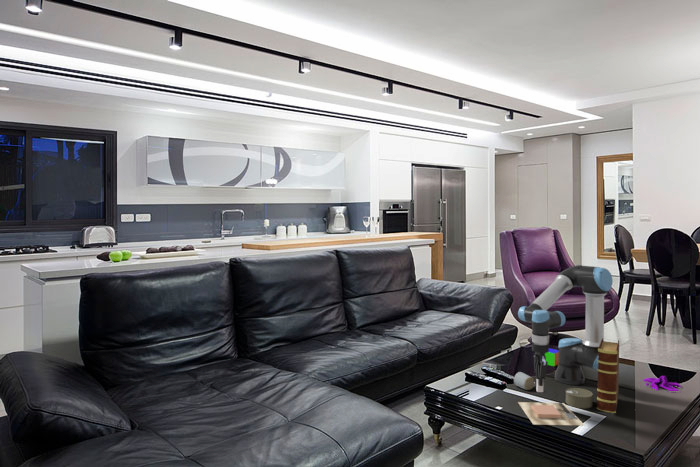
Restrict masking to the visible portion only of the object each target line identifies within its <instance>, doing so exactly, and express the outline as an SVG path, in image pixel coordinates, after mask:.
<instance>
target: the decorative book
mask: <svg viewBox="0 0 700 467" xmlns="http://www.w3.org/2000/svg"><path fill="white" fill-rule="evenodd" d="M596 371H597V388H596V392H597V394H596V396H597V397H596V402H597V403H596V405H597V406H596V409H597V410H599V411H603V412H604V413H605V412H606V413H611V414H612V413H616V414H617V408H618V407H617V406H618V400H619V380H620V378H619V375H620V373H619V371H620V340H619V339H618V341H617V342H614V341H613V342H611V341H605V340H604V341H603V339H602V340H601V343H600V345H599V348H598V369H597V370H596Z"/></svg>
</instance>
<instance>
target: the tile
mask: <svg viewBox="0 0 700 467" xmlns="http://www.w3.org/2000/svg"><path fill="white" fill-rule="evenodd" d="M531 409H532V410H533V411H534V413H535V414H536V415H537V417H538V418H558V419H560V418H561V414H560V413H559V412H558V411H557V409H556V408H555V407H554V406H553V405H531Z"/></svg>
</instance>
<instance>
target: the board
mask: <svg viewBox="0 0 700 467" xmlns="http://www.w3.org/2000/svg"><path fill="white" fill-rule="evenodd" d="M517 403H518V404H519V407H520V408H521V410H523V412H524V413H525V415H526V416H527V418H528V419H529V420H530V422H531V423H532V425H537V426H538V425H540V426H543V425H544V426H545V425H546V426H547V425H548V426H580V427H581V426H585V424H584V423H583V422H582V420H580V418H579V417H578V416H576V414H575V413H574V412H573V411H572V410H571V409H570V408H569V407H568V405H566V404H565V403H564V402H561V403H562V404H563V405H564V406H565V407H566V408H567V410H568V411H569V412H570V413H573V414H574V415H575V416H576V417H577V419H569V418H568V417H567V416H566V415H565V414H564V413H566V412H565V411H564V410H563V409H562V407H561V406H560V405H559V403H560V402H534V401H533V402H530V401H529V402H525V401H523V402H522V401H518V402H517ZM531 405H553V406H554V407H555V408H556V409H557V411H558V412H559V413H560V414H561V418H560V419H558V418H538V417H537V415H536V414H535V413H534V411H533V410H532V409H531Z"/></svg>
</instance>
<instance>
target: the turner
mask: <svg viewBox="0 0 700 467" xmlns="http://www.w3.org/2000/svg"><path fill="white" fill-rule="evenodd" d="M558 403H559V405H560V406H561V407H562V409H563V410H564V411H565V412H566V413H564V414H565V415H566V416H567V417H568V418H569V419H577V417H578V416H577V417H576V416H575V415H576V414H575V413H574V412H573V413H574V414H575V415H574V414H573V413H570V412H569V411H568V410H567V408H566V407H565V406H564V405H563V404H562V403H563V402H558Z"/></svg>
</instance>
